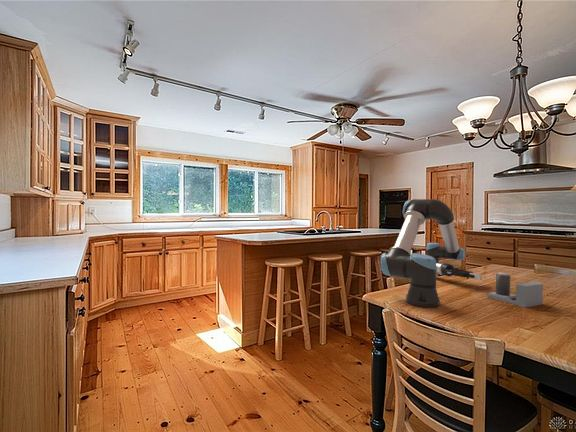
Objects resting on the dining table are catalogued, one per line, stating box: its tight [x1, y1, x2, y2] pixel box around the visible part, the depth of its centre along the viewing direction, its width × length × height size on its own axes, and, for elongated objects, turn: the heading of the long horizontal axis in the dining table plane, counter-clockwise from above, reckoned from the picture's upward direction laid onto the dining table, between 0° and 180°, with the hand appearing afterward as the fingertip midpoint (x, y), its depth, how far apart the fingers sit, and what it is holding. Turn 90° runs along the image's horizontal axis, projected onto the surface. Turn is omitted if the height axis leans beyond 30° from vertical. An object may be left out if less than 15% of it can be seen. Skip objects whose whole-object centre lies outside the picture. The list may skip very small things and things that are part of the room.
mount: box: [486, 281, 544, 308], centre depth 148 cm, size 13×18×10 cm
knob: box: [489, 272, 516, 300], centre depth 153 cm, size 8×8×12 cm
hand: (480, 277), depth 164 cm, fingers closed
